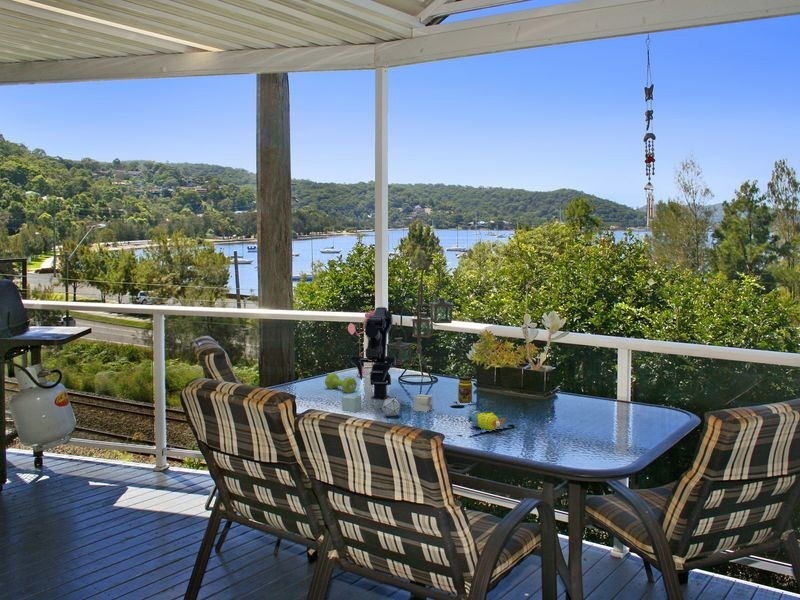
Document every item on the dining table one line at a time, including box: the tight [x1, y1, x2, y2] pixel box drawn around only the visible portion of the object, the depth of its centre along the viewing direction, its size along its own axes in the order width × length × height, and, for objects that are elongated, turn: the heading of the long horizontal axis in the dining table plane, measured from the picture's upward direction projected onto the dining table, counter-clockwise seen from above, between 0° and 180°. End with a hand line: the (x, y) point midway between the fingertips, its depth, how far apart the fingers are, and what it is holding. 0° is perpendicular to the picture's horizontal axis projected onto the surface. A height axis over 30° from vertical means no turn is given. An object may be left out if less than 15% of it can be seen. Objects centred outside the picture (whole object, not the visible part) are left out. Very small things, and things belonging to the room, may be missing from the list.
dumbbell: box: [324, 373, 358, 394], centre depth 359 cm, size 16×8×7 cm, turn 44°
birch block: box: [413, 394, 433, 413], centre depth 321 cm, size 6×6×6 cm
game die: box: [379, 396, 404, 419], centre depth 310 cm, size 9×8×10 cm
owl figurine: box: [467, 409, 506, 430], centre depth 290 cm, size 28×9×15 cm
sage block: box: [341, 393, 362, 413], centre depth 320 cm, size 6×6×6 cm
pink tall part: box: [347, 309, 376, 378], centre depth 389 cm, size 15×26×35 cm, turn 134°
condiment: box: [457, 375, 473, 403], centre depth 334 cm, size 7×8×12 cm
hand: (372, 380), depth 317 cm, fingers open, 9 cm apart
